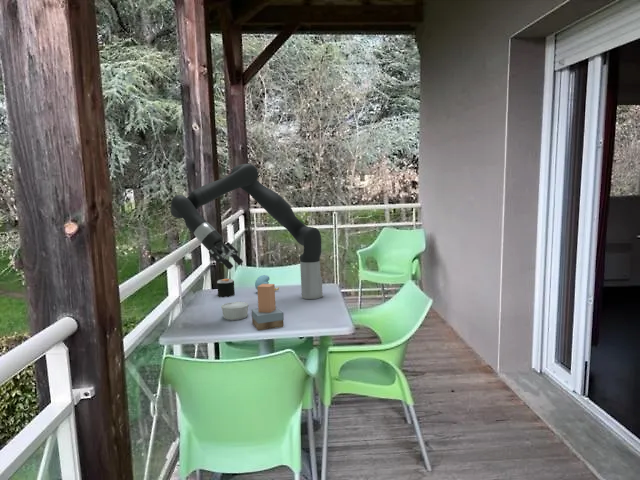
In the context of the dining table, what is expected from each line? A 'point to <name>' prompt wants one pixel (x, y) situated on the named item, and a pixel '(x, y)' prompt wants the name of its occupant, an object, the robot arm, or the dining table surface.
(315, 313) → the dining table surface
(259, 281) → the toy flower bud
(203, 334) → the dining table surface
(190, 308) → the dining table surface
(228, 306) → the ramekin
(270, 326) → the walnut base slab
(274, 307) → the terracotta block
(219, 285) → the sushi
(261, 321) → the slate top slab
